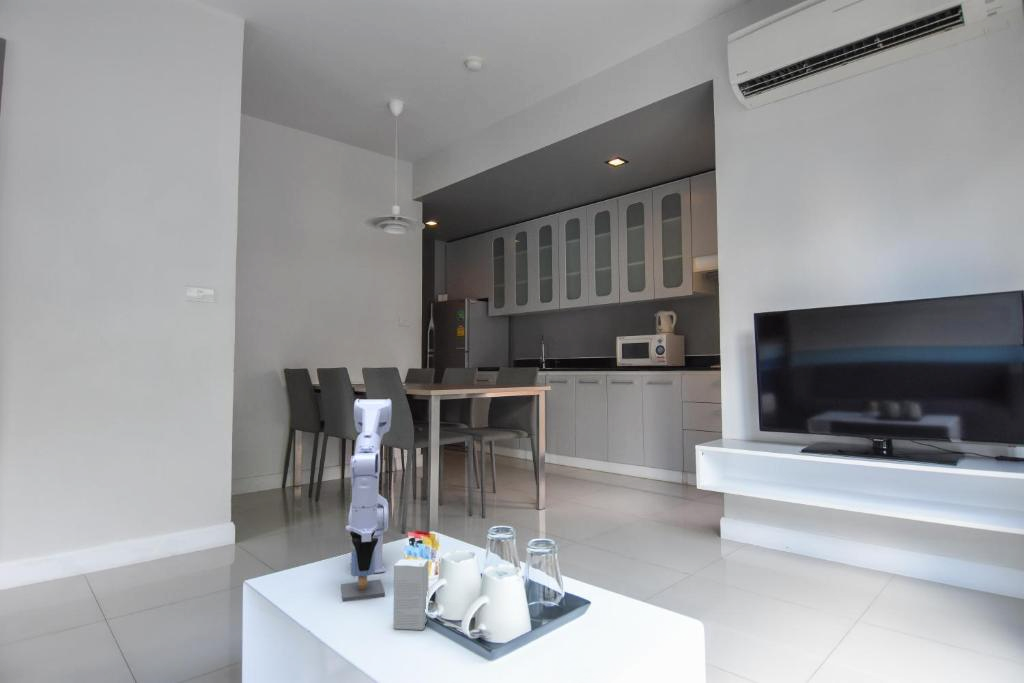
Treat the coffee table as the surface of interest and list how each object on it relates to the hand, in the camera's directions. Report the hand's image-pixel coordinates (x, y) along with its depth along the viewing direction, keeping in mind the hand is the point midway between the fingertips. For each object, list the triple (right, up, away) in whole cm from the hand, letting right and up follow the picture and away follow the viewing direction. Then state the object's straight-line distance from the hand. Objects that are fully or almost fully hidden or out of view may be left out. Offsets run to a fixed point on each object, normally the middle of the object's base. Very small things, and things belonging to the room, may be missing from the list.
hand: (363, 566), depth 124 cm
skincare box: (+14, -4, -18) cm, 24 cm away
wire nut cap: (0, -1, 0) cm, 1 cm away
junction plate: (0, -6, 0) cm, 6 cm away
